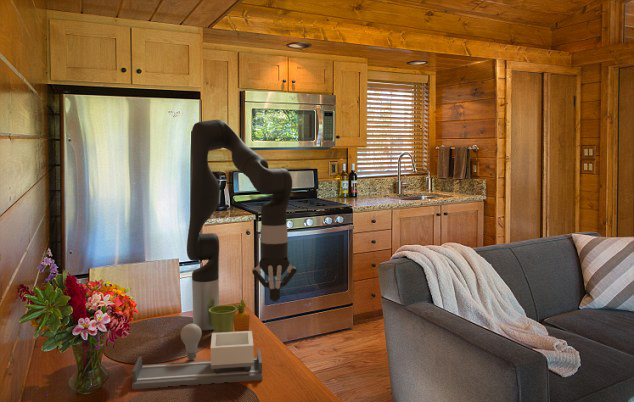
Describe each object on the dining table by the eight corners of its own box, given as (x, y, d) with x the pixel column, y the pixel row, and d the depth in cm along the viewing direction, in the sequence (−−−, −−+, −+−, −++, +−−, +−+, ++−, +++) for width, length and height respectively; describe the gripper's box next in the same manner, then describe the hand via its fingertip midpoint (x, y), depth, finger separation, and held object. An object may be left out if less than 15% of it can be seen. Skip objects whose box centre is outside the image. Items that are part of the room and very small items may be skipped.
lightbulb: (204, 356, 156) (204, 321, 155) (198, 364, 150) (197, 328, 149) (185, 355, 157) (184, 320, 156) (178, 363, 151) (177, 327, 150)
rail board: (140, 370, 146) (139, 354, 146) (259, 362, 152) (259, 347, 152) (132, 389, 135) (131, 373, 134) (262, 380, 140) (262, 364, 140)
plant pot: (206, 331, 178) (206, 306, 177) (233, 327, 182) (232, 303, 181) (212, 340, 170) (212, 314, 169) (240, 335, 173) (240, 310, 173)
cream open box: (212, 359, 149) (212, 333, 148) (252, 356, 151) (251, 330, 150) (211, 376, 138) (210, 348, 137) (253, 373, 140) (253, 345, 139)
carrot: (241, 350, 160) (241, 304, 159) (230, 347, 163) (230, 301, 162) (253, 346, 164) (252, 300, 163) (241, 342, 167) (241, 297, 166)
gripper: (296, 237, 148) (296, 296, 150) (249, 238, 146) (250, 298, 147) (299, 241, 140) (299, 303, 142) (250, 243, 138) (251, 306, 140)
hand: (274, 300), depth 145 cm, fingers closed
